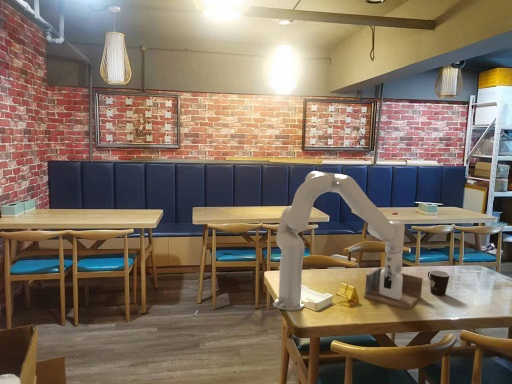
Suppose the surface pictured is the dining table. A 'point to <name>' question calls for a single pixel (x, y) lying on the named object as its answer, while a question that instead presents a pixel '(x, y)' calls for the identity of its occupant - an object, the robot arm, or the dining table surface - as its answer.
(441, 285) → the coffee mug
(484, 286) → the dining table surface
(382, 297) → the shelf
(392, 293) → the white upright block
